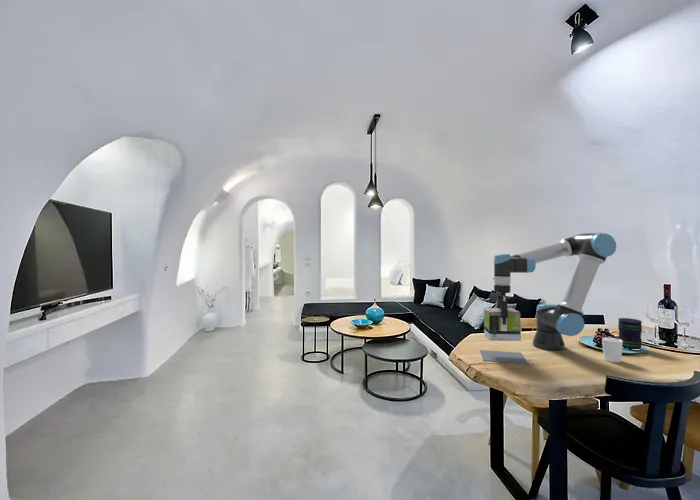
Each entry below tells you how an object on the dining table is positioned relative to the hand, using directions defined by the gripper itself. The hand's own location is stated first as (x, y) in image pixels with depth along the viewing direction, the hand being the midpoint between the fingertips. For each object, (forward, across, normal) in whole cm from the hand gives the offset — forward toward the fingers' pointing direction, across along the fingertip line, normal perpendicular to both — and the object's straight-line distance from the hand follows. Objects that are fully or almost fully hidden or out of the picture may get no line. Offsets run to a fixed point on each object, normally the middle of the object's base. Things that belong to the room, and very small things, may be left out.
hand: (501, 328), depth 174 cm
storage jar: (+14, -29, +68) cm, 75 cm away
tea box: (+6, 0, 0) cm, 6 cm away
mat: (+14, +2, 0) cm, 14 cm away
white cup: (+14, -5, +50) cm, 52 cm away
